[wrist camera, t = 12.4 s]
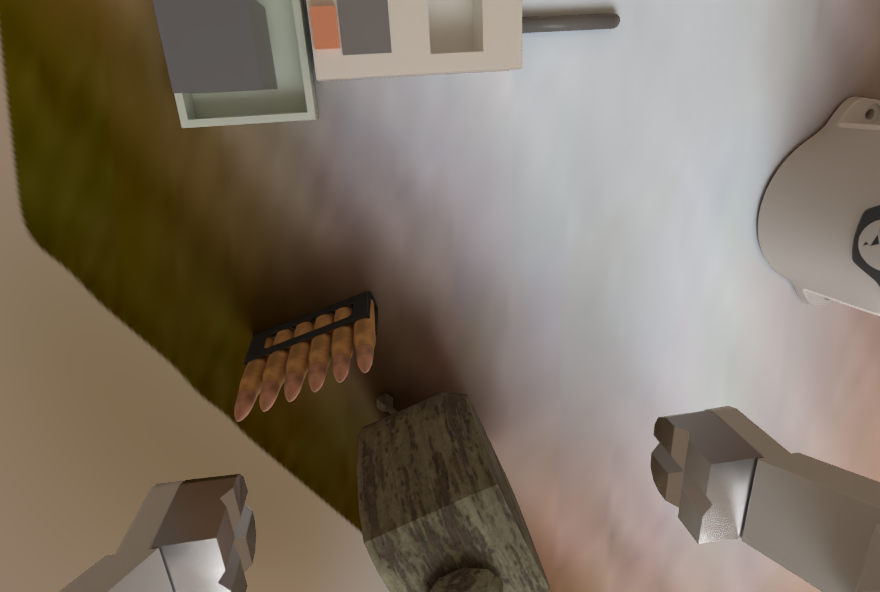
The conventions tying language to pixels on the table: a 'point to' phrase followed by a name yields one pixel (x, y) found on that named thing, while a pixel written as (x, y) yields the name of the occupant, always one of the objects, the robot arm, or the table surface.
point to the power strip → (426, 36)
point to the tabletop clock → (441, 503)
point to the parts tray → (264, 105)
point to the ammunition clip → (308, 352)
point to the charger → (216, 45)
